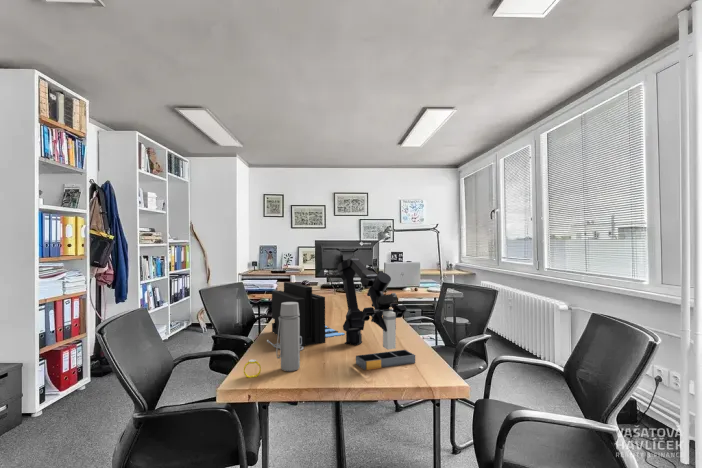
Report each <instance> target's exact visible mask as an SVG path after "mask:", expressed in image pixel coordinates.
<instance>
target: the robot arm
mask: <svg viewBox="0 0 702 468" xmlns="http://www.w3.org/2000/svg"><path fill="white" fill-rule="evenodd" d="M337 271H338V275H339V277H340V278H341V280H343V285H344V292H345V297H346V298H345V299H346V305H347V312H346V315H345V321H344V323H343V325H342V329H343V331H344V332H345V339H346V340H345V342H344V345H351V346H359V345H360V344H363V341H362V337H363V335H362V331H364V328H365V324H366V322H368V321H369V320H370V319H371V320H370V322H371V323H375V324H376V325H377V326H378V327H380V328H381V330H382V331H383V330H384V331H385V332H387V328H386V325H385V323H384V320H383V312H384V311H392V312H395V313H396V319H399V318H403V316H404V315H405V313H406V312H407V311H408V309H407V307H406V305H405V304H395V306H394V308H391V307H392V304H394V303H395V302H397V301H398V294H396V292H391V293H389V294H384V292H385V291H386V289H387V288H388V286H389V285H390V282H391V280H392V277H391V276H390V274H388V273H386V272H384V270H378V271H377V273H376V272H375V271H372V270H369V269H368V268H367V267H366V266H365V265H364V264H363V263H362V262H361V261H360V259H359V258H358V257H349V258H347V259H345V260H343V261H341V262H340V263H338V264H337ZM355 275H357V276H358V277H359V279H360V281H359V282H360V283H361V286H363V288H369V289H368V290H367V293H366V296H367V297H369V298H370V300H371V306H369V307H364V308H363V309H362V310H360V308H359V305H358V300H357V299H358V298H357V293H356V288H355V287H356V286H355V281H354V278H355ZM370 317H371V318H370Z"/></svg>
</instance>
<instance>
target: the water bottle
mask: <svg viewBox="0 0 702 468" xmlns="http://www.w3.org/2000/svg"><path fill="white" fill-rule="evenodd" d="M280 315H281V316H280V317H282V318H280V317H278V319H279V328H280V336H279V329H278V335H277V340H276V344H277V345H276V346H277V348H275V349H276V350H275V354H276V359H280V369H281V370H282V371H285V372H295V371H297V370H299V369H300V366H301V365H300V364H301V362H300V361H301V359H300V357H301V353H300V351H301V350H300V349H301V347H300V318H299V317H298V316H300V314H299V305H298V302H284V303H281V311H280ZM280 322H281V327H280ZM278 343H280V349H279V353H280V354H278Z"/></svg>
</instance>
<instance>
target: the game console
mask: <svg viewBox="0 0 702 468" xmlns="http://www.w3.org/2000/svg"><path fill="white" fill-rule="evenodd" d="M284 302H298V305H299V314H300V316H298V317H299V318H300V336H301V337H302V345H300V346H302V347H306V346H311V345H318V344H321V345H322V344H325V343H326V338H327V339H329V338H335V337H334V336H336V337H340V336H341V335H342V336H344V335H345V336H346V332H345V333H344V332H339V331H338V330H336V329H333V328H331V327H329V326H327V325H326V297H325V296H322V295H319V294H316V293H313V286H308V285H304V284H300V283H297V282H293V281H283V290H272V291H271V318H272V319H273V320H274V321H273V322H271V333H273V332H274V333H273V334H275V335H276V334H277V336H278V329H279V337H280V328H279V319H278V317H280V316H281V315H280V311H281V303H284ZM280 318H282V317H280ZM280 327H281V322H280ZM327 327H328V328H327ZM338 332H339V333H338ZM328 337H329V338H328ZM300 344H301V338H300Z"/></svg>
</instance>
